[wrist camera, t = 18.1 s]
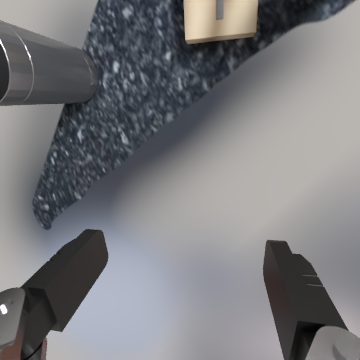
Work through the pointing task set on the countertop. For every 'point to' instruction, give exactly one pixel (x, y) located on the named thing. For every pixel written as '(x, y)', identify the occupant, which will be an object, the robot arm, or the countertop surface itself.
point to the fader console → (219, 20)
